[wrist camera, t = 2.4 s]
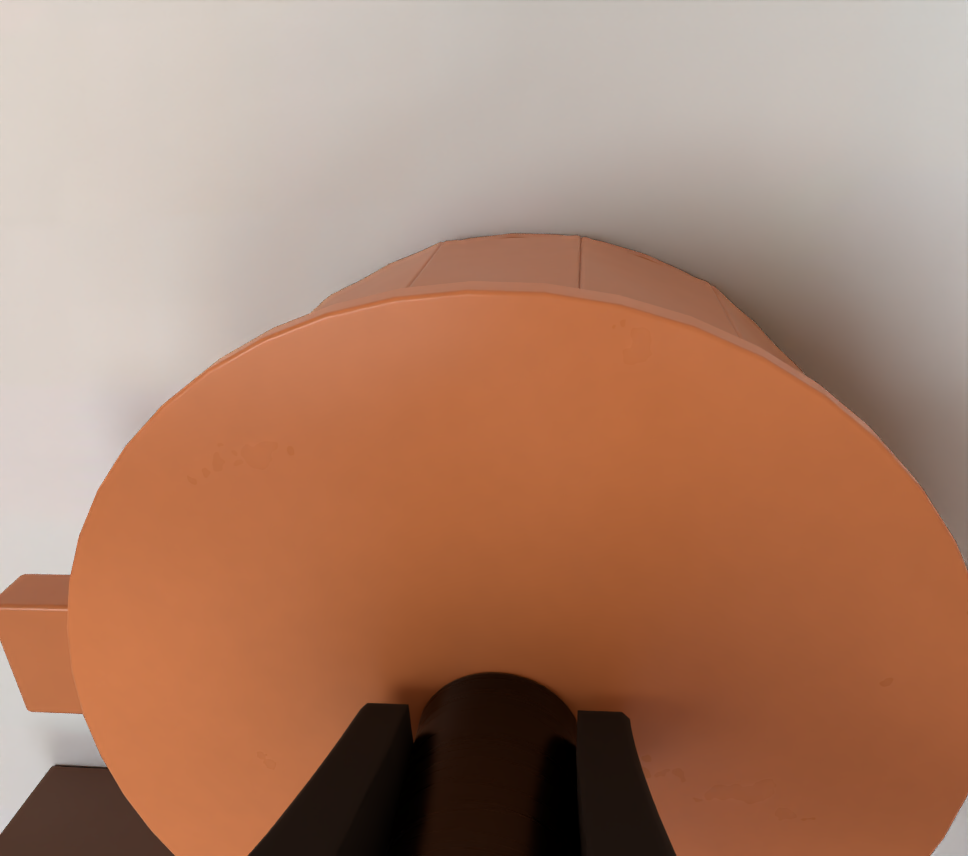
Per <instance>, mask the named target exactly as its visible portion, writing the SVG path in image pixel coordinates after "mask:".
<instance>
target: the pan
mask: <svg viewBox="0 0 968 856" xmlns="http://www.w3.org/2000/svg"><path fill="white" fill-rule="evenodd" d="M467 281H489V282H523V283H548V284H554V285H560V286H566V287H573V288H579V289H585V290H591V291H598V292H604V293H610V294H616V295H621V296H624V297H628V298H631V299H635V300H638V301H641V302H645V303H648V304H651V305H655V306H658V307H662V308H665V309H668V310H672V311H675V312H679V313H682V314H685V315H689V316H692V317H694V318H696V319H698V320H701V321H703V322H705V323H707V324H710V325H712V326H714V327H716V328H719V329H721V330H723V331H725V332H728V333H730V334H732V335H734V336H737V337H739V338H741V339H743V340H745V341H748V342H750V343H752V344H754V345H757V346H759V347H760V348H762V349H763V350H765V351H767V352H768V353H770V354H771V355H773V356H775V357H776V358H778V359H780V360H781V361H783V362H784V363H786V364H788V365H789V366H791V367H792V368H794V369H796V370H797V371H799V372H800V373H802V374H804V373H803V371H802V370H801V369H799V368H798V367H797V366H796V365H795V364H794V363H793V362H792V361H791V360H790V359H789V358H788V357H787V356H786V355H785V354H784V353H783V352H782V351H781V350H780V349H779V348H778V347H777V346H776V345H775V344H774V343H773V342H772V341H771V340H770V339H769V338H768V337H767V335H766V334H765V333H764V332H763V331H762V330H761V329H760V328H759V326H758V325H757V324H756V323H755V322H754V321H753V320H751V319H750V318H749V317H748V316H747V315H745V314H744V313H743V312H742V311H741V310H739V309H738V308H737V307H736V306H735V305H734V304H733V303H732V302H730V301H729V300H728V299H727V298H726V297H725V296H724V295H723V294H722V293H721V292H720V291H719V290H718V289H717V288H716V287H714V286H711V285H710V284H709V283H708V282H706V281H703V280H701V279H698V278H695V277H693V276H691V275H689V274H688V273H686V272H684V271H682V270H680V269H677V268H675V267H673V266H671V265H668V264H666V263H664V262H662V261H660V260H657V259H655V258H653V257H651V256H648V255H646V254H643V253H640V252H636V251H633V250H630V249H626V248H623V247H620V246H616V245H613V244H609V243H606V242H603V241H597V240H593V239H590V238H587V237H582V238H581V237H580V236H578V235H571V236H565V235H558V234H519V233H512V234H503V235H494V236H485V237H475V238H468V239H464V240H452V241H445V242H444V243H443V242H439V243H437V244H435V245H433V246H431V247H429V248H427V249H425V250H423V251H420V252H418V253H415V254H413V255H410V256H408V257H405V258H403V259H400V260H398V261H395V262H393V263H390V264H388V265H386V266H385V267H383V268H381V269H379V270H378V271H376V272H374V273H372V274H371V275H369V276H367V277H365V278H364V279H362V280H360V281H358V282H356V283H354V284H352V285H350V286H348V287H346V288H344V289H342V290H340V291H338V292H336V293H333V294H331V295H330V296H329V297H328V298H327V299H325V300H324V301H323V302H322V303H321V304H320V305H319V306H318V307H316V308H315V309H314V310H313V311H312V312H311V313H313V312H315V311H318V310H320V309H323V308H325V307H328V306H330V305H333V304H336V303H341V302H345V301H349V300H353V299H357V298H362V297H366V296H370V295H374V294H378V293H382V292H387V291H391V290H395V289H399V288H407V287H417V286H427V285H437V284H447V283H457V282H467ZM804 375H805V374H804ZM70 576H71V575H51V574H24V575H21V576H20V577H19V578H17V579H16V580H15V581H14V582H13V583H12V584H11V585H10V586H9V587H8V588H7V589H5V590H4V591H3V592H2V593H1V594H0V641H1V643H2V646H3V648H4V651H5V654H6V656H7V659H8V661H9V664H10V667H11V669H12V672H13V674H14V677H15V679H16V682H17V685H18V687H19V690H20V692H21V695H22V698H23V700H24V703H25V705H26V708H27V710H29V711H31V712H50V713H76V714H83V711H82V708H81V704H80V700H79V697H78V693H77V689H76V686H75V682H74V678H73V675H72V669H71V660H70V652H69V643H68V634H67V614H68V592H69V580H70Z"/></svg>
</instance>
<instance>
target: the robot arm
mask: <svg viewBox="0 0 968 856" xmlns="http://www.w3.org/2000/svg"><path fill="white" fill-rule="evenodd" d="M413 745H414V742H413V735H412V727H411V720H410V712H409V705H408V704H387V703H367V704H365V705H364V706H363V707H362V708H361V709H360V710H359V712H358V713H357V715H356V716H355V718H354V719H353V720H352V722H351V723H350V725H349V726H348V728H347V729H346V730H345V732H344V733H343V735H342V736H341V738H340V739H339V740H338V742H337V743H336V745H335V746H334V747H333V749H332V750H331V751H330V753H329V754H328V756H327V757H326V758H325V760H324V761H323V762H322V764H321V765H320V766H319V768H318V769H317V770H316V772H315V773H314V774H313V776H312V777H311V778H310V780H309V781H308V782H307V784H306V785H305V786H304V787H303V789H302V790H301V791H300V793H299V794H298V795H297V796H296V798H295V799H294V800H293V801H292V803H291V804H290V805H289V806H288V808H287V809H286V810H285V812H284V813H283V814H282V815H281V817H280V818H279V819H278V820H277V822H276V823H275V824H274V825H273V827H272V828H271V829H270V830H269V831H268V833H267V834H266V835H265V836H264V837H263V839H262V840H261V841H260V842H259V843H258V844H257V845H256V847H255V848H254V849H253V850H252V851H251V852H250V853H249V855H248V856H386V852H387V848H388V844H389V840H390V836H391V832H392V828H393V824H394V820H395V816H396V812H397V808H398V804H399V800H400V796H401V793H402V789H403V785H404V781H405V777H406V773H407V769H408V765H409V761H410V757H411V753H412V749H413ZM576 763H577V806H578V823H579V837H580V856H676V853H675V851H674V849H673V846H672V844H671V842H670V839H669V837H668V835H667V832H666V830H665V828H664V825H663V823H662V821H661V818H660V816H659V813H658V811H657V808H656V806H655V803H654V801H653V798H652V795H651V793H650V790H649V787H648V784H647V781H646V778H645V776H644V773H643V770H642V766H641V763H640V760H639V757H638V753H637V750H636V746H635V742H634V738H633V734H632V729H631V723H630V718H628V717H627V716H626V715H625V714H624V713H623V712H612V711H584V710H578V712H577V744H576Z"/></svg>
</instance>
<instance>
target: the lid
mask: <svg viewBox="0 0 968 856" xmlns="http://www.w3.org/2000/svg"><path fill="white" fill-rule="evenodd" d="M67 634H68V643H69V652H70V660H71V669H72V675H73V678H74V682H75V686H76V689H77V693H78V697H79V700H80V704H81V708H82V711H83V715H84V718H85V720H86V722H87V725H88V727H89V729H90V732H91V734H92V736H93V739H94V741H95V743H96V746H97V748H98V750H99V753H100V755H101V757H102V759H103V760H104V762H105V764H106V765H107V767H108V769H109V771H110V772H111V774H112V776H113V777H114V779H115V781H116V782H117V784H118V786H119V787H120V789H121V791H122V793H123V794H124V796H125V797H126V798H127V800H128V801H129V802H130V804H131V805H132V806H133V807H134V809H135V810H136V811H137V813H138V814H139V815H140V817H141V818H142V819H143V821H144V822H145V823H146V825H147V826H148V827H149V828H150V830H151V831H152V832H153V833H154V834H155V835H156V836H157V837H158V838H159V839H160V840H161V841H162V843H163V844H164V845H165V846H166V847H167V848H168V849H169V850H170V851H171V852H172V853H173V854H174V855H175V856H248V855H249V853H250V852H251V851H252V850H253V849H254V848H255V847H256V845H257V844H258V843H259V842H260V841H261V840H262V839H263V837H264V836H265V835H266V834H267V833H268V831H269V830H270V829H271V828H272V827H273V825H274V824H275V823H276V822H277V820H278V819H279V818H280V817H281V815H282V814H283V813H284V812H285V810H286V809H287V808H288V806H289V805H290V804H291V803H292V801H293V800H294V799H295V798H296V796H297V795H298V794H299V793H300V791H301V790H302V789H303V787H304V786H305V785H306V784H307V782H308V781H309V780H310V778H311V777H312V776H313V774H314V773H315V772H316V770H317V769H318V768H319V766H320V765H321V764H322V762H323V761H324V760H325V758H326V757H327V756H328V754H329V753H330V751H331V750H332V749H333V747H334V746H335V745H336V743H337V742H338V740H339V739H340V738H341V736H342V735H343V733H344V732H345V730H346V729H347V728H348V726H349V725H350V723H351V722H352V720H353V719H354V718H355V716H356V715H357V713H358V712H359V710H360V709H361V708H362V707H363V706H364V705H365V704H367V703H387V704H408V705H409V712H410V720H411V727H412V735H413V742H414V745H413V749H412V753H411V757H410V761H409V765H408V769H407V773H406V777H405V781H404V785H403V789H402V793H401V796H400V800H399V804H398V808H397V812H396V816H395V820H394V824H393V828H392V832H391V836H390V840H389V844H388V848H387V852H386V856H580V837H579V823H578V806H577V763H576V744H577V712H578V710H584V711H612V712H623V713H624V714H625V715H626V716H627V717H628V718H630V723H631V729H632V734H633V738H634V742H635V746H636V750H637V753H638V757H639V760H640V763H641V766H642V770H643V773H644V776H645V778H646V781H647V784H648V787H649V790H650V793H651V795H652V798H653V801H654V803H655V806H656V808H657V811H658V813H659V816H660V818H661V821H662V823H663V825H664V828H665V830H666V832H667V835H668V837H669V839H670V842H671V844H672V846H673V849H674V851H675V853H676V856H930V855H931V854H932V853H933V851H934V850H935V849H936V848H937V846H938V845H939V844H940V842H941V841H942V840H943V839H944V837H945V835H946V833H947V832H948V830H949V828H950V826H951V824H952V822H953V821H954V819H955V817H956V815H957V813H958V812H959V810H960V808H961V806H962V804H963V803H964V801H965V799H966V797H967V795H968V570H967V567H966V565H965V562H964V560H963V558H962V555H961V553H960V550H959V548H958V545H957V543H956V541H955V539H954V538H953V536H952V534H951V533H950V531H949V530H948V528H947V527H946V525H945V523H944V522H943V520H942V519H941V517H940V515H939V514H938V512H937V511H936V509H935V507H934V506H933V504H932V503H931V501H930V499H929V498H928V496H927V495H926V493H925V491H924V490H923V488H922V487H921V486H920V485H919V483H918V482H917V481H916V479H915V478H914V477H913V476H912V474H911V473H910V472H909V471H908V470H907V469H906V468H905V466H904V465H903V464H902V463H901V462H900V461H899V460H898V458H897V457H896V456H895V455H894V454H893V453H892V452H891V450H890V449H889V448H888V447H887V446H886V445H885V444H884V443H883V441H882V440H881V439H880V438H879V437H878V436H877V435H876V433H875V432H874V431H873V430H872V429H871V428H870V427H869V426H868V425H867V424H866V423H865V422H863V421H862V420H861V419H860V418H859V417H857V416H856V415H855V414H854V413H853V412H851V411H850V410H849V409H848V408H847V407H846V406H844V405H843V404H842V403H841V402H840V401H838V400H837V399H836V398H835V397H834V396H832V395H831V394H830V393H829V392H828V391H826V390H825V389H824V388H823V387H822V386H820V385H819V384H818V383H817V382H815V381H813V380H812V379H810V378H809V377H807V376H805V375H804V374H802V373H800V372H799V371H797V370H796V369H794V368H792V367H791V366H789V365H788V364H786V363H784V362H783V361H781V360H780V359H778V358H776V357H775V356H773V355H771V354H770V353H768V352H767V351H765V350H763V349H762V348H760V347H759V346H757V345H754V344H752V343H750V342H748V341H745V340H743V339H741V338H739V337H737V336H734V335H732V334H730V333H728V332H725V331H723V330H721V329H719V328H716V327H714V326H712V325H710V324H707V323H705V322H703V321H701V320H698V319H696V318H694V317H692V316H689V315H685V314H682V313H679V312H675V311H672V310H668V309H665V308H662V307H658V306H655V305H651V304H648V303H645V302H641V301H638V300H635V299H631V298H628V297H624V296H621V295H616V294H610V293H604V292H598V291H591V290H585V289H579V288H573V287H566V286H560V285H554V284H548V283H523V282H489V281H467V282H457V283H447V284H437V285H427V286H417V287H407V288H399V289H395V290H391V291H387V292H382V293H378V294H374V295H370V296H366V297H362V298H357V299H353V300H349V301H345V302H341V303H336V304H333V305H330V306H328V307H325V308H323V309H320V310H318V311H315V312H313V313H310V314H307V315H305V316H302V317H300V318H297V319H295V320H292V321H290V322H287V323H285V324H282V325H279V326H277V327H274V328H272V329H271V330H269V331H267V332H265V333H264V334H262V335H260V336H258V337H257V338H255V339H253V340H251V341H250V342H248V343H246V344H244V345H243V346H241V347H239V348H237V349H236V350H234V351H232V352H230V353H229V354H227V355H225V356H224V357H222V358H220V359H219V360H218V361H216V362H215V363H214V364H213V365H211V366H210V367H209V368H208V369H206V370H205V371H204V372H203V373H201V374H200V375H199V376H198V377H196V378H195V379H194V380H193V381H191V382H190V383H189V384H188V385H186V386H185V387H184V388H183V389H181V390H180V391H179V392H178V393H176V394H175V395H174V396H173V397H172V398H170V399H169V400H168V401H167V402H165V403H164V404H163V405H162V406H161V407H160V408H159V409H158V410H157V411H156V413H155V414H154V415H153V416H152V417H151V418H150V419H149V420H148V421H147V423H146V424H145V425H144V426H143V427H142V428H141V429H140V430H139V431H138V433H137V434H136V435H135V436H134V437H133V438H132V439H131V440H130V442H129V443H128V444H127V445H126V446H125V448H124V449H123V451H122V452H121V454H120V455H119V457H118V459H117V460H116V462H115V463H114V465H113V467H112V468H111V470H110V471H109V473H108V475H107V476H106V478H105V479H104V481H103V482H102V484H101V486H100V487H99V489H98V491H97V493H96V496H95V498H94V501H93V503H92V505H91V508H90V510H89V513H88V515H87V518H86V520H85V523H84V525H83V527H82V530H81V532H80V535H79V539H78V544H77V548H76V553H75V557H74V562H73V566H72V571H71V576H70V580H69V592H68V614H67Z"/></svg>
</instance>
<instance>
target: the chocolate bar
mask: <svg viewBox="0 0 968 856" xmlns="http://www.w3.org/2000/svg"><path fill="white" fill-rule="evenodd" d="M0 856H175V855H174V854H173V853H172V852H171V851H170V850H169V849H168V848H167V847H166V846H165V845H164V844H163V843H162V841H161V840H160V839H159V838H158V837H157V836H156V835H155V834H154V833H153V832H152V831H151V830H150V828H149V827H148V826H147V825H146V823H145V822H144V821H143V819H142V818H141V817H140V815H139V814H138V813H137V811H136V810H135V809H134V807H133V806H132V805H131V804H130V802H129V801H128V800H127V798H126V797H125V796H124V794H123V793H122V791H121V789H120V787H119V786H118V784H117V782H116V781H115V779H114V777H113V776H112V774H111V772H110V771H109V769H102V768H81V767H60V766H52V767H51V768H50V769H49V771H48V772H47V773H46V775H45V776H44V777H43V779H42V780H41V781H40V783H39V784H38V785H37V787H36V788H35V789H34V791H33V792H32V793H31V795H30V796H29V797H28V799H27V800H26V801H25V803H24V804H23V805H22V807H21V808H20V809H19V810H18V812H17V813H16V814H15V816H14V817H13V818H12V820H11V821H10V822H9V824H8V825H7V826H6V828H5V829H4V830H3V832H2V833H1V834H0Z"/></svg>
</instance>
